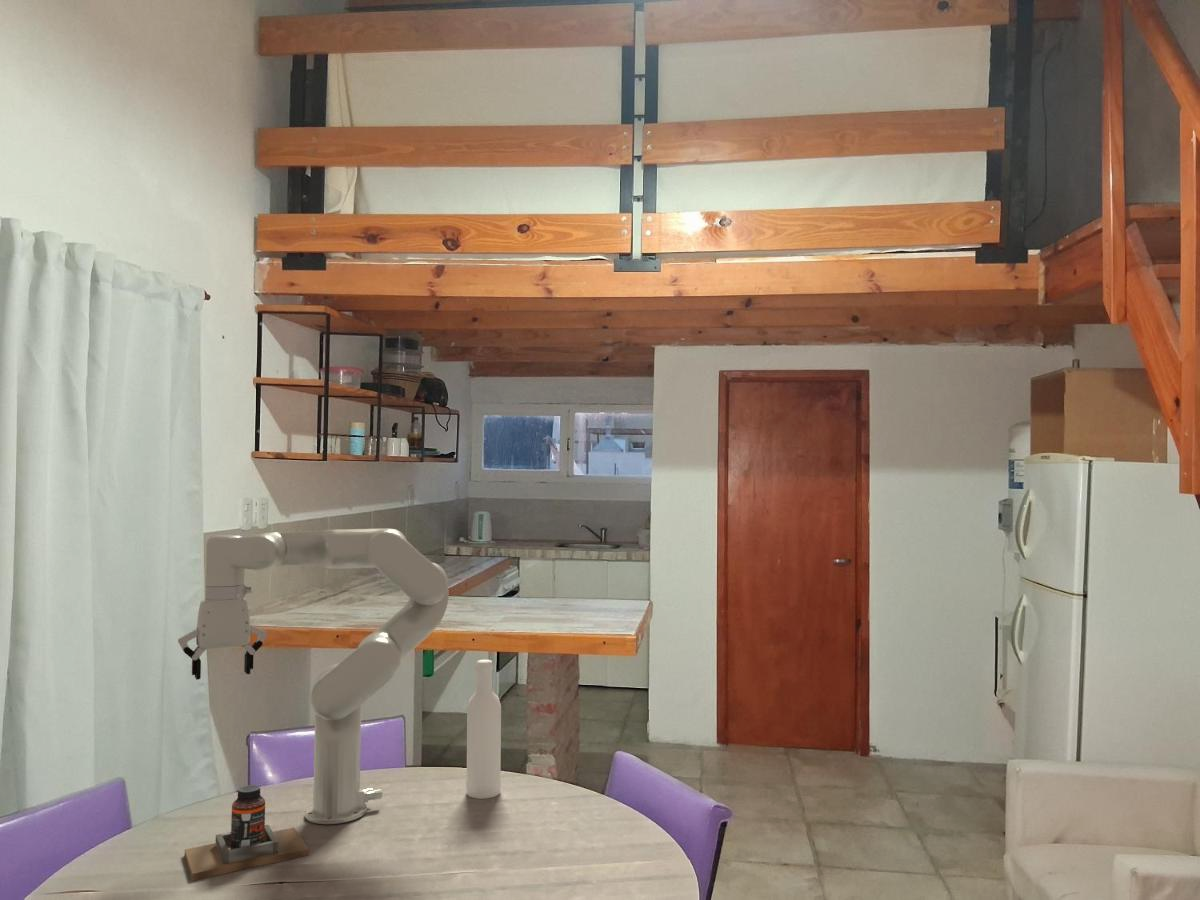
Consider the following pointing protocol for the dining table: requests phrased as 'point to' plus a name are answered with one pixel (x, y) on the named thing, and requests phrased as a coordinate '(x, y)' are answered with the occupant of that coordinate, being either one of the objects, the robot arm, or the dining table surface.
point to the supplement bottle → (248, 817)
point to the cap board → (243, 853)
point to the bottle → (483, 737)
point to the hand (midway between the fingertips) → (222, 675)
